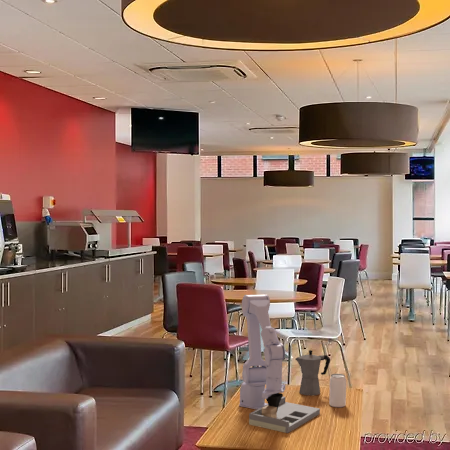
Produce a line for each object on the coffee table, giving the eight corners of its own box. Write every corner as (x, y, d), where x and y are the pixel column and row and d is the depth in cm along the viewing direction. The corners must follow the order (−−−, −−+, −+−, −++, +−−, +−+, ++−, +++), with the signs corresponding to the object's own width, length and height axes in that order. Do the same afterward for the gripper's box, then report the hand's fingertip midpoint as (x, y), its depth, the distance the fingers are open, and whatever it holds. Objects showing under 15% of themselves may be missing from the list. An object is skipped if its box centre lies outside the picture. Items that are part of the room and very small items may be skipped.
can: (345, 408, 290) (346, 378, 289) (328, 407, 291) (329, 377, 291) (346, 403, 296) (346, 373, 296) (329, 402, 298) (330, 372, 297)
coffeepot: (298, 396, 305) (299, 353, 304) (291, 390, 314) (292, 348, 313) (333, 394, 308) (334, 352, 307) (325, 388, 317) (326, 346, 316)
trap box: (248, 424, 270) (249, 413, 269) (282, 406, 291) (283, 396, 291) (287, 433, 261) (288, 422, 261) (319, 413, 283) (320, 403, 283)
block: (261, 418, 270) (261, 408, 270) (267, 415, 273) (267, 405, 273) (271, 420, 268) (271, 410, 267) (276, 417, 271) (276, 407, 271)
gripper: (274, 383, 264) (273, 420, 265) (292, 374, 276) (292, 410, 277) (257, 380, 268) (256, 416, 269) (276, 371, 280) (275, 406, 281)
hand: (273, 413), depth 273 cm, fingers closed
